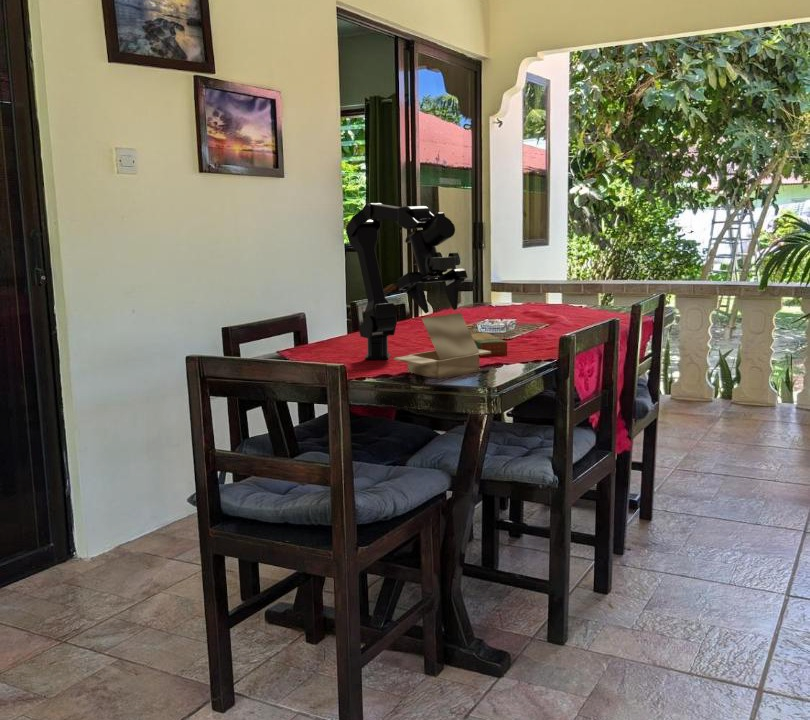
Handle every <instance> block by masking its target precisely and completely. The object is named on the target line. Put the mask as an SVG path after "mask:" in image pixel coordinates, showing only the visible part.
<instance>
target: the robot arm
mask: <svg viewBox="0 0 810 720" xmlns="http://www.w3.org/2000/svg"><path fill="white" fill-rule="evenodd" d="M370 218H371V219H370ZM372 219H373V220H372ZM382 221H388V222H395V223H397V225H398V226H399V227H401V228H403V229H405V230H415V231H409V232H408V233H407V236H406V237H405V240H404V242H405V243H406V244H407V243H411V248H412V250H413V251H412V252H413V254H414V258H415V259H413V260H412V263H413V266H417V270H418V271H414V272H407V273H405V274H404V275H403V276H401V277H399V278H398V279H397V283H396V284H397V287H398V288H397V289H398V290H399V291H403V294H407V295H408V296H409V297H410V298H411V299H412V300H413V301H414V302H415V303H416V304H417V306H418V307H419V308H420V309H421V311H422V312H424V313H425V314H428V313H429V310H430V309H429V305H428V302H427V298H426V295H425V294H426V293H425V285H426V284H431V283H442V284H443V285H444V286H443V288H442V289H443V290H444V292H445V294H446V297H447V299H448V302H449V304H450V307H451V308H452V310H454V311H455V310H457V309H458V304H459V303H458V301H459V289H460V286H461V284H462V283H464V282H465V280H466V279H468V278H469V277H468V273H467V271H466V269H464V268H457V266H460V265H461V256H460V254H459V252H449V253H448V256H443V255H442V253H441V252H440V251H439V252H437V248H436V247H438V246H440V245H441V244H443V243H444V242H446V241H448V240H449V239H451V238H453V236H454V235H455V233H456V228H455V227H456V226H455V224H454V223H453V222H452V220H451V219H449V218H448V217H447V216H446V214H445V213H444V212H437V213H435V214H433V213H432V212H431V211H430V209H429V207H428V206H427V205H418V206H417V205H415V206H413V205H411V206H407V205H406V206H396V205H389V204H383V203H381V202H367V203H366V204H365V205H364V206H363V208H362V209H361V210H360V211H358V212H357V213H355V214H354V215H353V216H352V217H350V220H349V221H348V223H347V225H346V227H345V233H346V237H347V239H348V243H349V245H350V246H351V247H352V248H353V249H354V251H355V252H356V253H357V256H358V261H359V266H360V272H361V276H362V281H363V285H364V290H365V295H366V299H367V304H366V306H365V309H364V321H363V323H362V324H361V325H360V327H359V329H358V331H359V336H360V338H366V339H367V354H366V355H365V356H364V357H365V358H364V359H365V360H389V358H390V356H391V353H389V349H388V347H389V346H388V339H389V338H388V336H395V334H396V333H395V332H396V327H397V323H398V320H397V317H398V315H397V312H396V307H395V304H394V302H389V300H388V299H387V298H386V296H385V295H386V294H385V290H384V286H383V281H382V276H381V271H380V267H379V262H378V258H377V253H376V245H377V243H378V240H379V234H378V232H379V231H380V230H381V228H382V226H383V222H382Z"/></svg>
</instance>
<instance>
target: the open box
mask: <svg viewBox="0 0 810 720" xmlns="http://www.w3.org/2000/svg"><path fill="white" fill-rule="evenodd" d="M478 350H479V353H476V354H470V355H465V356H459V357H454V358H448V359H442V360H440V359H439V356H438V354H437V352H436V350H430V351H429V350H428V351H423V352H418V353H417V352H416V353H411V354H407V355H403V356H397V357H393V361H398V362H402V363H407V366H406V367H407V373H409V372H411V373H410V374H413V373H414V374H413V375H419V376H423V377H428V378H432V379H436V380H441V379H446V378H452V377H457V376H462V375H467V374H472V373H477V372H480V356H479V355H484V354H490V353H491V351H487V350H481V349H478Z"/></svg>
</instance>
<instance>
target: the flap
mask: <svg viewBox="0 0 810 720" xmlns="http://www.w3.org/2000/svg"><path fill="white" fill-rule="evenodd" d="M421 322H423V325H424V327H425V329H426V332H427V334H428V336H429V338H430V341H431V343H432V345H433V347H434V349H435V350H436V352H437V354H438V356H439V359H440V360H442V359H448V358H454V357H459V356H465V355H470V354H476V353H479V350H478V348H477V346H476V344H475V342H474V340H473V337H472V335H471V334H472V333H471V331H470V329H469V327H468V324H467V322H466V321H465V319H464V316H463V314H462V313H461V312H459V313H451V314H443V315H436V316H429V317H428V316H427V317H423V318H421Z"/></svg>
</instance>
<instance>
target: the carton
mask: <svg viewBox="0 0 810 720" xmlns="http://www.w3.org/2000/svg"><path fill="white" fill-rule="evenodd" d="M471 335H472V337H473V340H474V342H475V344H476V346H477V348H478V349H481V350H487V351H491V353H490V354H484V355H488V356H499V354H503V355H508V341H506V340H503V339H501V338H499V337H497V336H494V335H492V334H490V333H471ZM480 356H481V357H484V356H483V355H480ZM480 356H479V357H480Z"/></svg>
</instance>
